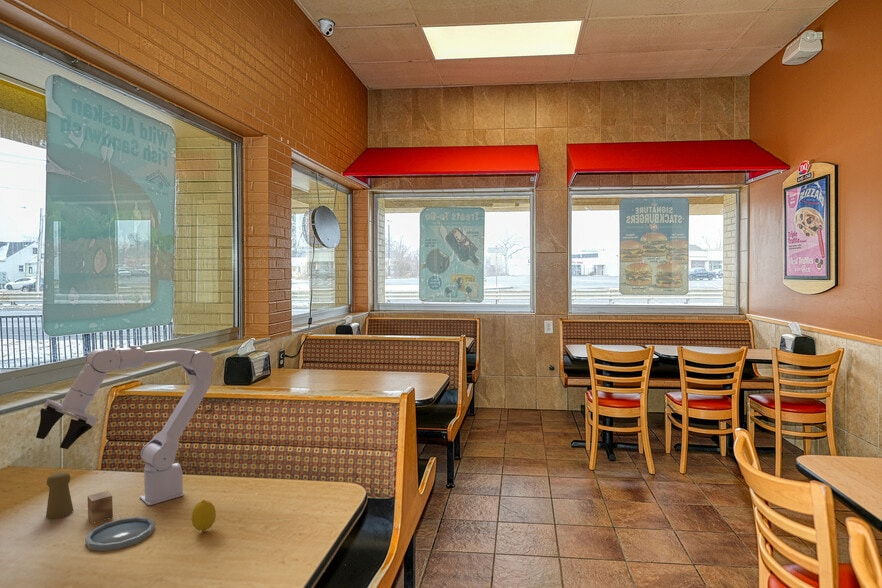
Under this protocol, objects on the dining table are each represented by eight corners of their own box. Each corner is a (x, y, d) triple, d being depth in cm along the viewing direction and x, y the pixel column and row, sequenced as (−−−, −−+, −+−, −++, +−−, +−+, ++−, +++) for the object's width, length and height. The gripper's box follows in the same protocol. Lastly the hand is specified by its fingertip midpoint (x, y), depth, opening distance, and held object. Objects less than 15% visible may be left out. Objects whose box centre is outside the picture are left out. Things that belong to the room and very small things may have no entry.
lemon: (220, 528, 131) (220, 497, 131) (204, 538, 126) (203, 506, 126) (203, 525, 133) (203, 494, 133) (186, 535, 128) (185, 503, 127)
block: (108, 512, 141) (107, 490, 140) (112, 517, 137) (112, 495, 137) (88, 518, 137) (87, 495, 137) (92, 523, 134) (91, 501, 134)
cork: (58, 519, 136) (57, 478, 136) (39, 517, 138) (38, 477, 137) (79, 509, 142) (77, 470, 142) (60, 507, 144) (59, 468, 143)
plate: (143, 517, 138) (143, 511, 138) (161, 535, 128) (161, 529, 128) (80, 536, 128) (80, 530, 127) (94, 557, 118) (94, 551, 118)
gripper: (48, 380, 133) (16, 431, 128) (94, 397, 130) (62, 451, 125) (68, 386, 139) (38, 435, 134) (112, 403, 136) (83, 454, 131)
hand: (51, 443), depth 130 cm, fingers open, 7 cm apart
